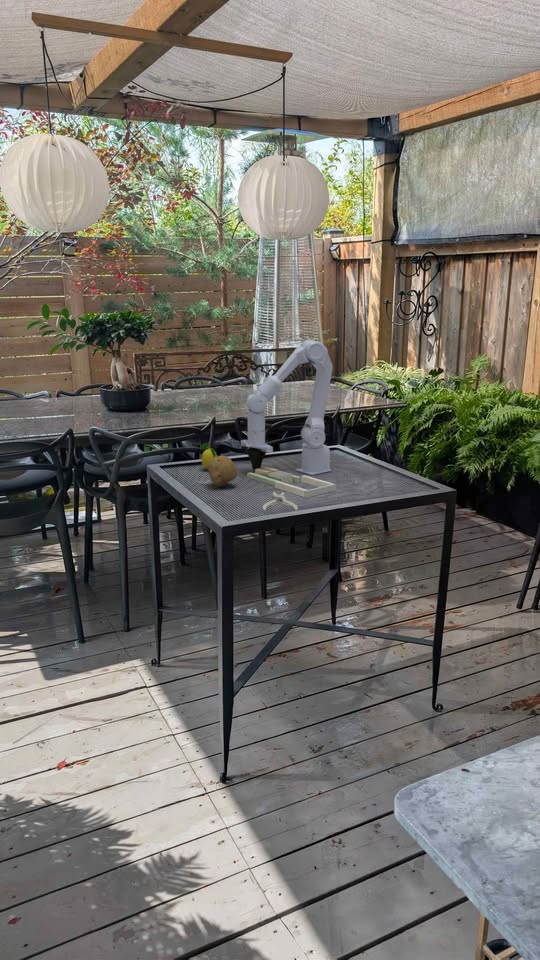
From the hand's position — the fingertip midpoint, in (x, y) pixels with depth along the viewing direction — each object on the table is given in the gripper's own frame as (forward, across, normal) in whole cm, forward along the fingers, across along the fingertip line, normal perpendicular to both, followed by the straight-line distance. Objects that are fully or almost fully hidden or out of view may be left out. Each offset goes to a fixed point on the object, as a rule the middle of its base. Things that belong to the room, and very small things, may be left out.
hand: (256, 470), depth 235 cm
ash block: (+2, +5, 0) cm, 6 cm away
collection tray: (+1, +24, 0) cm, 24 cm away
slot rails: (+1, +9, 0) cm, 9 cm away
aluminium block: (+2, +12, 0) cm, 12 cm away
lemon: (+2, -15, -9) cm, 17 cm away
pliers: (+2, +30, -16) cm, 34 cm away
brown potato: (+2, +5, -18) cm, 19 cm away
